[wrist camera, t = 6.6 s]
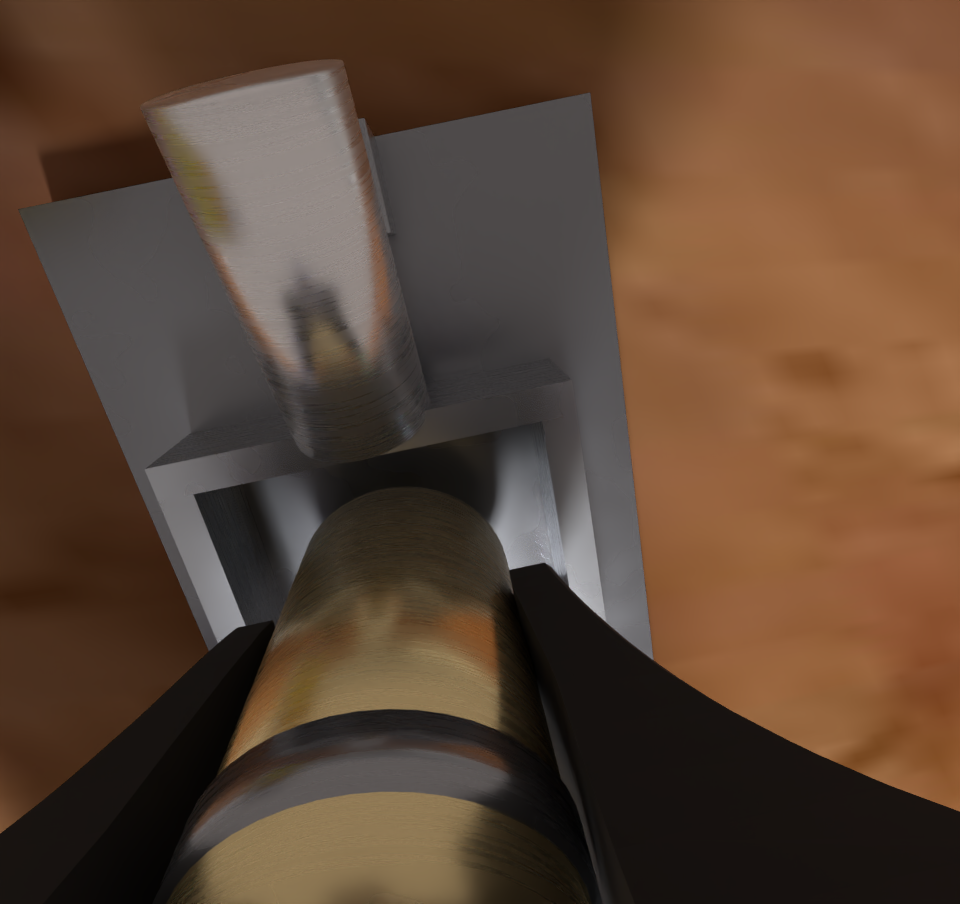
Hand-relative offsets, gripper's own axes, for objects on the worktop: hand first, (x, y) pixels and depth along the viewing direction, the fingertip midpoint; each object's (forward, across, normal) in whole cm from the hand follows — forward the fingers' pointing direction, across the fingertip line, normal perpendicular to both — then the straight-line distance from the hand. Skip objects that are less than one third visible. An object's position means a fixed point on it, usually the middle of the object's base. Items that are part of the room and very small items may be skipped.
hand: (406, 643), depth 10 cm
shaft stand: (+4, 0, 0) cm, 4 cm away
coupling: (+2, 0, 0) cm, 2 cm away
